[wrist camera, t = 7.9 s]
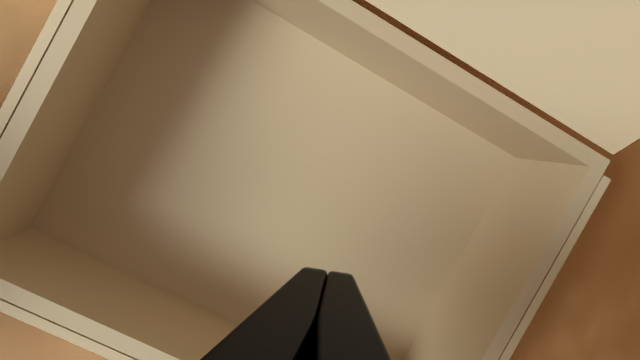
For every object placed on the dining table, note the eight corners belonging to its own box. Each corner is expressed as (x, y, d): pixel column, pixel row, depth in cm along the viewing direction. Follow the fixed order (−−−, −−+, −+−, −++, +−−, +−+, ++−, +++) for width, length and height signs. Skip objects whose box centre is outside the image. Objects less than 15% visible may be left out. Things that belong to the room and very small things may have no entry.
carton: (388, 414, 22) (429, 500, 17) (1, 234, 19) (-87, 273, 14) (533, 156, 21) (619, 165, 16) (162, -67, 18) (130, -138, 13)
